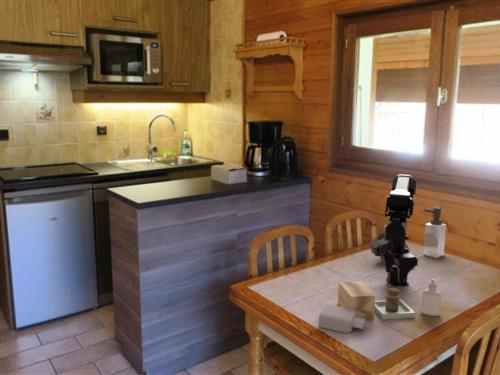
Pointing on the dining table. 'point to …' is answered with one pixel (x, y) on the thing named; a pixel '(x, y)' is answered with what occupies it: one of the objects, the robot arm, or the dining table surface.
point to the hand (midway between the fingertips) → (393, 277)
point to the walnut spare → (392, 300)
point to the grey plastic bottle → (340, 319)
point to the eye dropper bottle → (431, 300)
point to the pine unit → (357, 298)
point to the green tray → (403, 312)
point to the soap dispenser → (434, 235)
